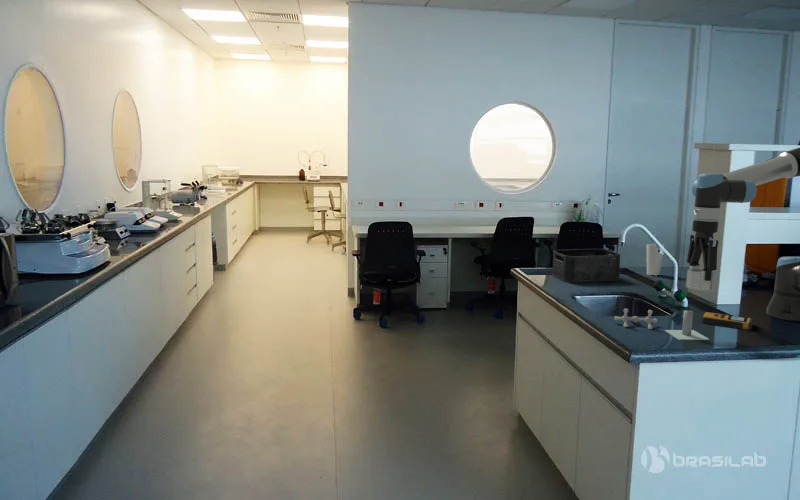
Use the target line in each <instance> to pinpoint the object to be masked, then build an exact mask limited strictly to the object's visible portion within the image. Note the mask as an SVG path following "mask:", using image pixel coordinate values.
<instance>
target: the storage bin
mask: <svg viewBox="0 0 800 500" xmlns="http://www.w3.org/2000/svg"><path fill="white" fill-rule="evenodd" d="M552 252H553V255H552V256H553V257H552V274H551V275H552V276H553V277H555V278H556V279H559V281H563V282H565V283H569V284H570V283H601V282H602V283H603V282H616V281H617V282H618V281H620V268H621V265H620V264H621V253H619V252H616V251H612V250H609V249H607V248H572V249H568V248H567V249H554V250H553V251H552Z"/></svg>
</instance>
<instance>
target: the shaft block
mask: <svg viewBox="0 0 800 500" xmlns="http://www.w3.org/2000/svg"><path fill="white" fill-rule="evenodd" d="M693 318H694V311H693V310H688V309H687V310H683V317H682V328H681V329H664V332H666V333H667V334H668V335H670V336H672V337H673V338H675V339H677V340H678V341H710V338H708V337H707V336H705V335H703V334H701V333H700V332H698V331H696V330H695V329H692V328H693V321H694V319H693Z"/></svg>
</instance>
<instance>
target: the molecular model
mask: <svg viewBox="0 0 800 500" xmlns="http://www.w3.org/2000/svg"><path fill="white" fill-rule="evenodd" d="M623 312H624V313H623V315H622V316H618V315H615V316H614V321H619V320H622V322H623V326H624V327H628V328H629V325H628V321H630V322H631V323H635V324H637V323H639V322H645V323H646V324H647V325H648V326H647V329H648V330H650V329H651V330H653V326H652V324H651V323H652V322H653V323H657V322H658V319H657V318H652V314H653V310H651V309H648V311H647V316H646V317H645V318H644V317H643V318H641V317H639V316H637V315H634V316H631V317H629V316H628V313H629V309H628V308H624V309H623ZM623 326H622V327H623ZM624 327H623V328H624Z"/></svg>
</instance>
